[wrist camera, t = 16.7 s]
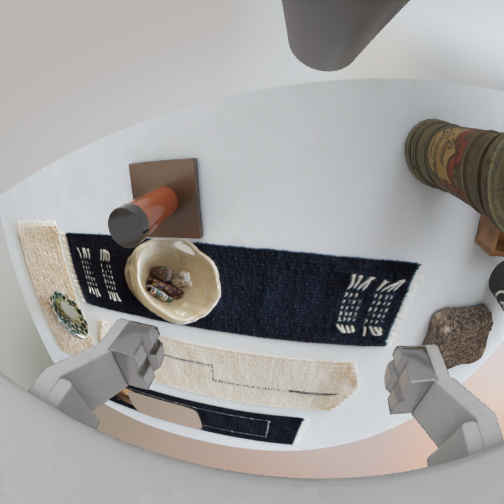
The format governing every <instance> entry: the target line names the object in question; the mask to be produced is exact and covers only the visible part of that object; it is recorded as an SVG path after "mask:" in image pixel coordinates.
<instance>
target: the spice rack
mask: <svg viewBox="0 0 504 504" xmlns="http://www.w3.org/2000/svg"><path fill="white" fill-rule="evenodd" d="M475 243H476V244H478V245H479V246H480V247H481V248H482V249H483V250H484V251H485V252H486V253H487V254H488V255H490V256H500V257H504V233H503V232H501V231H499V230H498V229H497V228H495V226H494V225H493V224H492V223H491V221H490V220H489V219H488V218H487V217H486V215H482V214H481V217H480V221H479V226H478V230H477V234H476V238H475Z"/></svg>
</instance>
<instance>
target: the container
mask: <svg viewBox="0 0 504 504" xmlns="http://www.w3.org/2000/svg"><path fill="white" fill-rule="evenodd" d="M405 155H406V160H407V164H408V166H409V168H410V170H411V172H412V173H413V175H414V176H415V177H416V178H417V179H418V180H419V181H420V182H422V183H424V184H426V185H428V186H431V187H433V188H437V189H440V190H442V191H445V192H449V193H451V194H452V195H454V196H455V197H457V198H459V199H460V200H462V201H463V202H465V203H467V204H468V205H470V206H471V207H473V208H474V209H475V210H476V211H477V212H478V213H480V214H482V215H486V217H487V218H488V219H489V220H490V221H491V223H492V224H493V225H494V226H495V228H497V229H498V230H499V231H501V232H503V233H504V133H500V132H497V131H494V130H481V129H473V128H466V127H460V126H458V125H455V124H451V123H448V122H446V121H442V120H438V119H428V120H424V121H422V122H420V123H418V124H417V125H416V126H415V127H414V128H413V129H412V130H411V131H410V133H409V135H408V137H407V140H406V145H405Z"/></svg>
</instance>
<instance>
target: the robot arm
mask: <svg viewBox="0 0 504 504" xmlns="http://www.w3.org/2000/svg"><path fill="white" fill-rule="evenodd" d="M159 335H160V333H159V330H158V327H155V326H152V325H148V324H143V323H139V322H134V321H129V320H125V319H119V320H117V321H116V322H115V323H114V325H113V326H112V327H111V329H110V330H109V331H108V332H107V334H106V335H105V336H104V338H103V339H102V340H101V341H100V343H99V344H98V345H97V346H92V347H89V348H87V349H85V350H83V351H81V352H79V353H77V354H75V355H73V356H71V357H68V358H66V359H64V360H62V361H60V362H58V363H56V364H54V365H51V366H49V367H47V368H45V370H44V371H43V372H42V373H41V375H40V376H39V377H38V379H37V380H36V381H35V382H34V384H33V385H32V386H31V388H30V389H29V390H28V391H27V390H25V389H24V388H23V387H21V386H20V385H18V384H17V383H16V382H14V381H13V380H11V379H10V378H9V377H7V376H6V375H5V374H3V373H2V372H1V371H0V504H504V440H503V437H502V433H501V430H500V427H499V424H498V421H497V418H496V415H495V413H494V412H493V411H492V410H491V409H489V408H488V407H487V406H486V405H485V404H484V403H482V402H481V401H480V400H479V399H478V398H477V397H475V396H474V395H473V394H472V393H471V392H470V391H468V390H467V389H466V388H465V387H463V386H462V385H461V384H460V383H459V382H458V381H457V380H455V379H454V378H453V379H451V378H450V376H449V373H448V370H447V368H446V365H445V363H444V360H443V358H442V356H441V353H440V351H439V348H438V346H437V345H435V344H433V345H416V346H397V347H396V348H395V350H394V352H393V358H394V359H393V360H392V361H391V362H389V363H388V366H387V368H386V372H385V387H386V389H387V390H388V391H389V392H390V393H391V394H390V396H389V397H388V404H389V410H390V414H402V413H412V415H413V416H414V418H415V419H416V420H417V421H418V423H419V424H420V425H421V426H422V428H423V429H424V430H425V431H426V433H427V434H428V435H429V437H430V438H431V439H432V440H433V442H434V443H435V444H436V445H437V447H438V449H437V450H436V451H435V452H433V453H432V454H431V455H430V456H429V457H428V458H427V463H428V467H426V468H421V469H416V470H411V471H405V472H399V473H392V474H385V475H377V476H367V477H356V478H355V477H354V478H330V479H313V478H312V479H311V478H288V477H274V476H264V475H255V474H248V473H241V472H235V471H229V470H223V469H218V468H213V467H208V466H204V465H199V464H195V463H191V462H187V461H183V460H180V459H176V458H172V457H169V456H166V455H162V454H159V453H156V452H153V451H150V450H147V449H144V448H141V447H138V446H136V445H133V444H130V443H127V442H125V441H122V440H120V439H118V438H115V437H113V436H110V435H108V434H106V433H104V432H101V431H99V430H97V427H98V425H99V423H100V422H99V419H98V418H97V417H96V415H95V414H94V413H93V412H92V411H93V410H94V409H96V408H97V407H98V406H100V405H101V404H103V403H104V402H106V401H107V400H109V399H110V398H112V397H113V396H114V395H116V394H117V393H119V392H120V391H121V390H123V389H124V388H126V387H127V386H128V385H131V386H135V387H139V388H143V389H146V390H148V389H149V387H150V385H151V383H152V381H153V379H154V378H155V374H154V371H155V370H156V369H158V368H160V366H161V364H162V362H163V358H164V347H163V343H162V342H161V341H160V340H159V339H158V337H159Z"/></svg>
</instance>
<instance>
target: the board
mask: <svg viewBox="0 0 504 504" xmlns="http://www.w3.org/2000/svg"><path fill="white" fill-rule="evenodd" d="M129 169H130V178H131V186H132V193H133V200H134V199H136V198H138V197H140V196H141V195H143V194H145V193H147V192H149V191H151V190H153V189H154V188H156V187H159V186H166V187H168V188H170V189H172V190H173V191H174V193H175V194H176V196H177V198H178V208H177V211H176V212H175V213H174V214H173V215H172V216H171V217H170V218H168V219H167V220H166V221H165V222H163V223H162V224H161V225H160V226H159V227H157V228H156V229H155V230H154V231H153V232H151V233H150V234H149V235H148V236H147V237H172V238H199V239H200V238H201V237H202V236H203V235H202V225H201V214H200V202H199V190H198V176H197V161H196V158H189V159H174V160H161V161H150V162H140V163H132V164H129Z"/></svg>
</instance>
